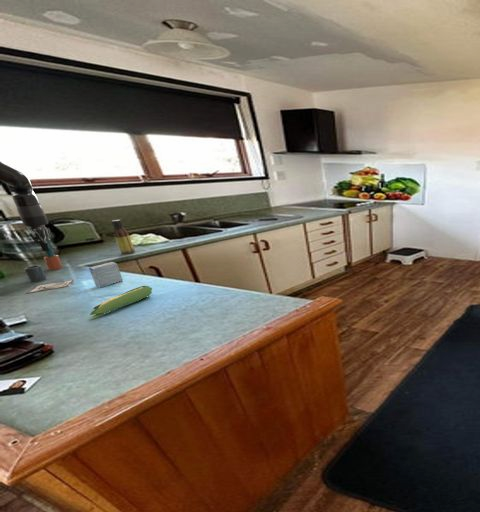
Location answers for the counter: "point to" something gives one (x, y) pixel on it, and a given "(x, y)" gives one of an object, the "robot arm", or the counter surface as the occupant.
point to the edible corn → (121, 300)
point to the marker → (50, 252)
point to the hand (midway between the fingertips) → (47, 249)
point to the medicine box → (105, 274)
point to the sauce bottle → (122, 238)
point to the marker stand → (35, 273)
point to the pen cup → (53, 262)
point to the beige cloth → (51, 286)
